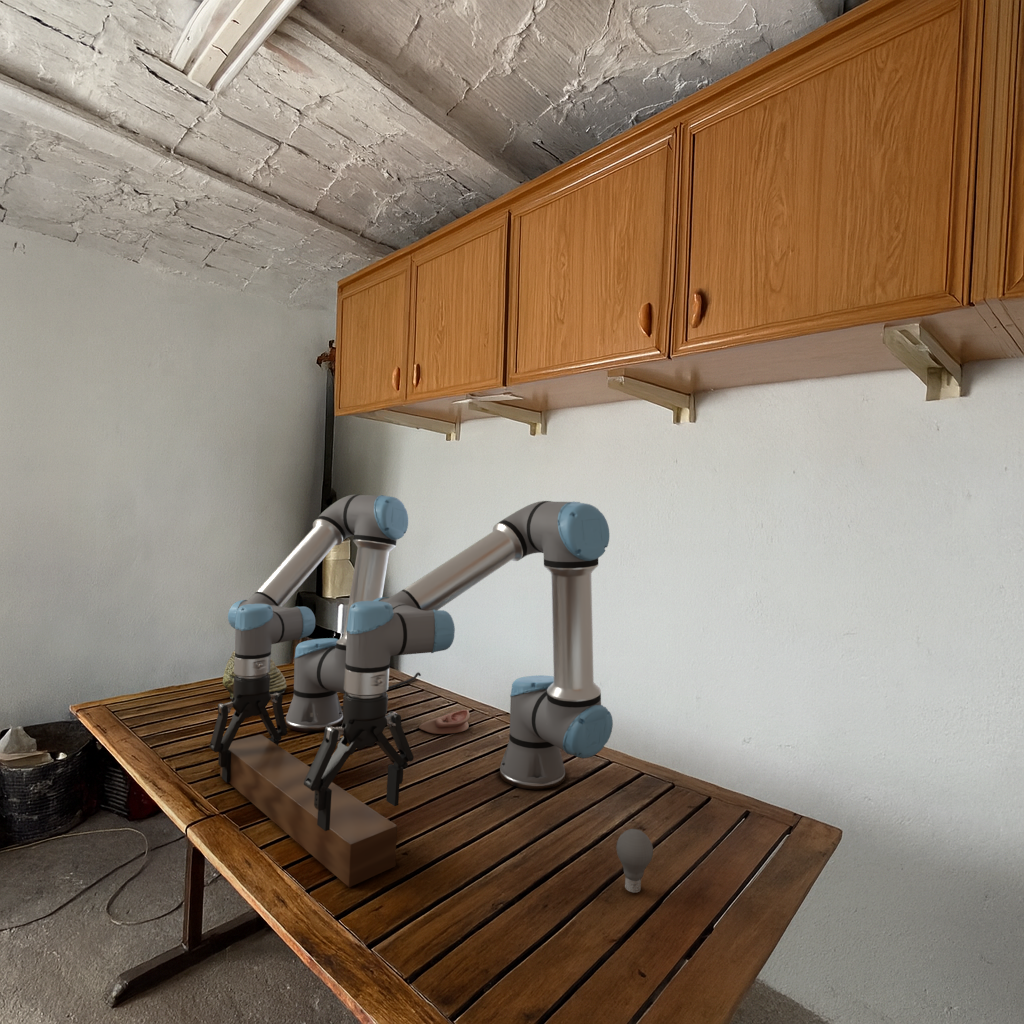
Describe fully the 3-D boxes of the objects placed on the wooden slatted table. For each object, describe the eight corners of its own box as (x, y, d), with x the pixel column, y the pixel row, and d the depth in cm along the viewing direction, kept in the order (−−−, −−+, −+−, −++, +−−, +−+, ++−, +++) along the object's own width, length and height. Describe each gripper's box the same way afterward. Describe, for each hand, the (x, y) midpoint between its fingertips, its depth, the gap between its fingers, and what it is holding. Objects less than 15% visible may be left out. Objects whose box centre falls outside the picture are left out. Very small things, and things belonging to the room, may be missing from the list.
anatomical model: (415, 716, 173) (429, 704, 184) (414, 731, 173) (428, 717, 184) (462, 722, 170) (473, 709, 181) (461, 737, 170) (472, 722, 181)
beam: (220, 775, 142) (221, 743, 142) (260, 764, 148) (261, 734, 148) (348, 887, 103) (350, 844, 103) (395, 866, 110) (397, 825, 110)
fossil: (218, 695, 195) (220, 647, 195) (278, 685, 208) (279, 640, 207) (228, 703, 189) (230, 653, 188) (289, 692, 201) (290, 645, 201)
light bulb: (610, 879, 108) (613, 822, 108) (644, 879, 109) (647, 822, 109) (619, 902, 102) (622, 840, 102) (655, 901, 103) (658, 840, 103)
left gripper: (207, 687, 131) (203, 794, 131) (305, 670, 147) (302, 766, 147) (194, 678, 136) (190, 782, 137) (290, 663, 152) (287, 756, 152)
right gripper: (309, 711, 98) (301, 848, 98) (436, 685, 115) (430, 801, 115) (287, 699, 103) (279, 829, 103) (411, 676, 121) (405, 787, 121)
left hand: (248, 773), depth 142 cm, fingers closed on beam, 9 cm apart
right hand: (359, 814), depth 109 cm, fingers open, 13 cm apart
